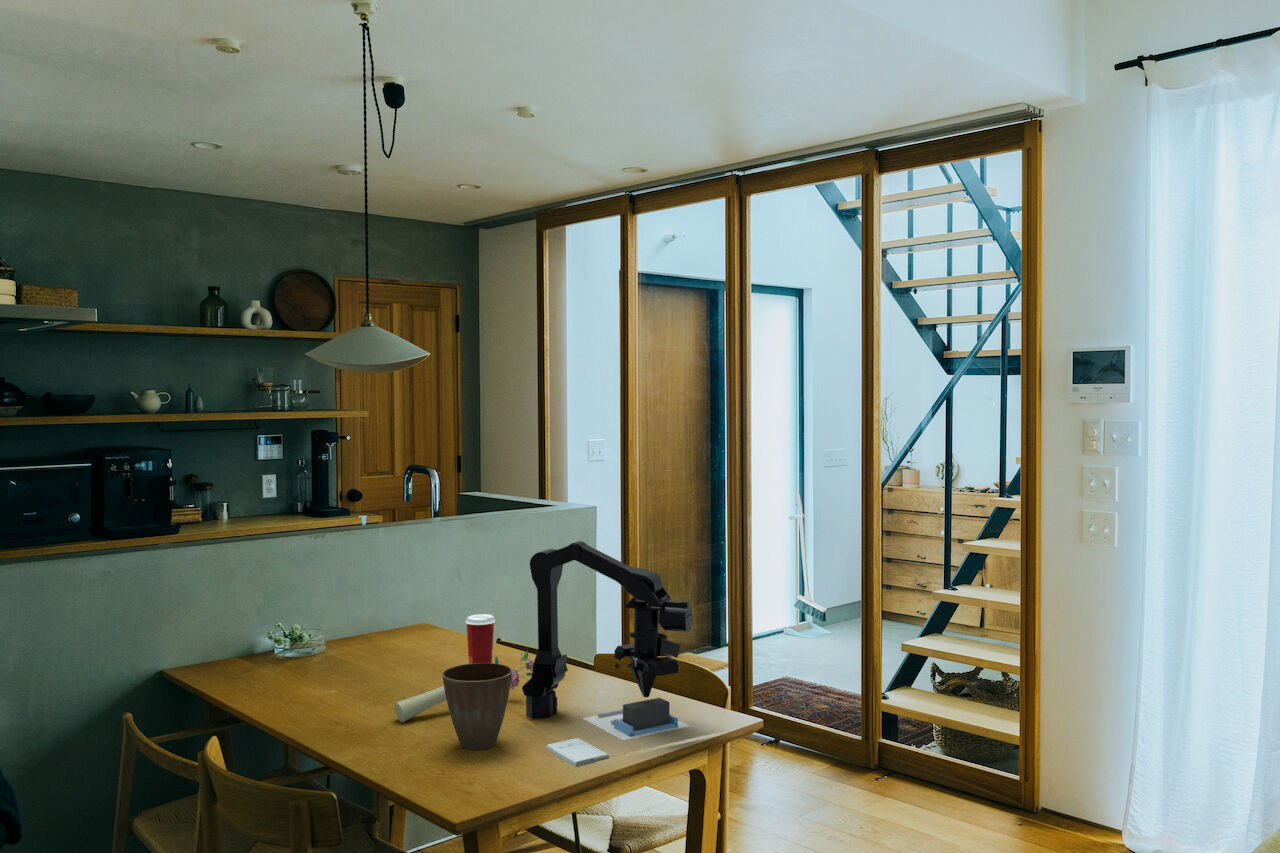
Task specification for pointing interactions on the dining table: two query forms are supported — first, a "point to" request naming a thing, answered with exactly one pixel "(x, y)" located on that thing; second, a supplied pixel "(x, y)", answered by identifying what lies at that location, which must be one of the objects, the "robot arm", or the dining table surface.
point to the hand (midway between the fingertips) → (646, 696)
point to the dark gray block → (646, 713)
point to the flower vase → (444, 695)
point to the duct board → (623, 731)
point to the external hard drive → (576, 752)
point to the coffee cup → (480, 638)
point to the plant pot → (477, 702)
